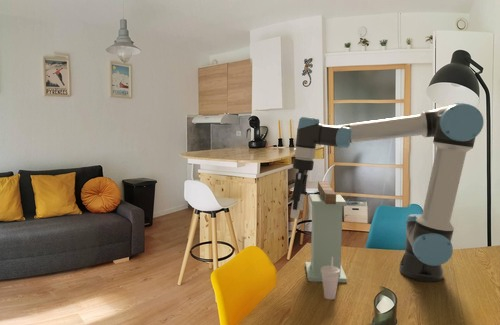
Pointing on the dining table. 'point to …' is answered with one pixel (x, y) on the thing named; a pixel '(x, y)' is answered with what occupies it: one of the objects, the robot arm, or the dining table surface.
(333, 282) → the smoothie
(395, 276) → the dining table surface
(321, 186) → the walnut bar
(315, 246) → the stand
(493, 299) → the dining table surface
